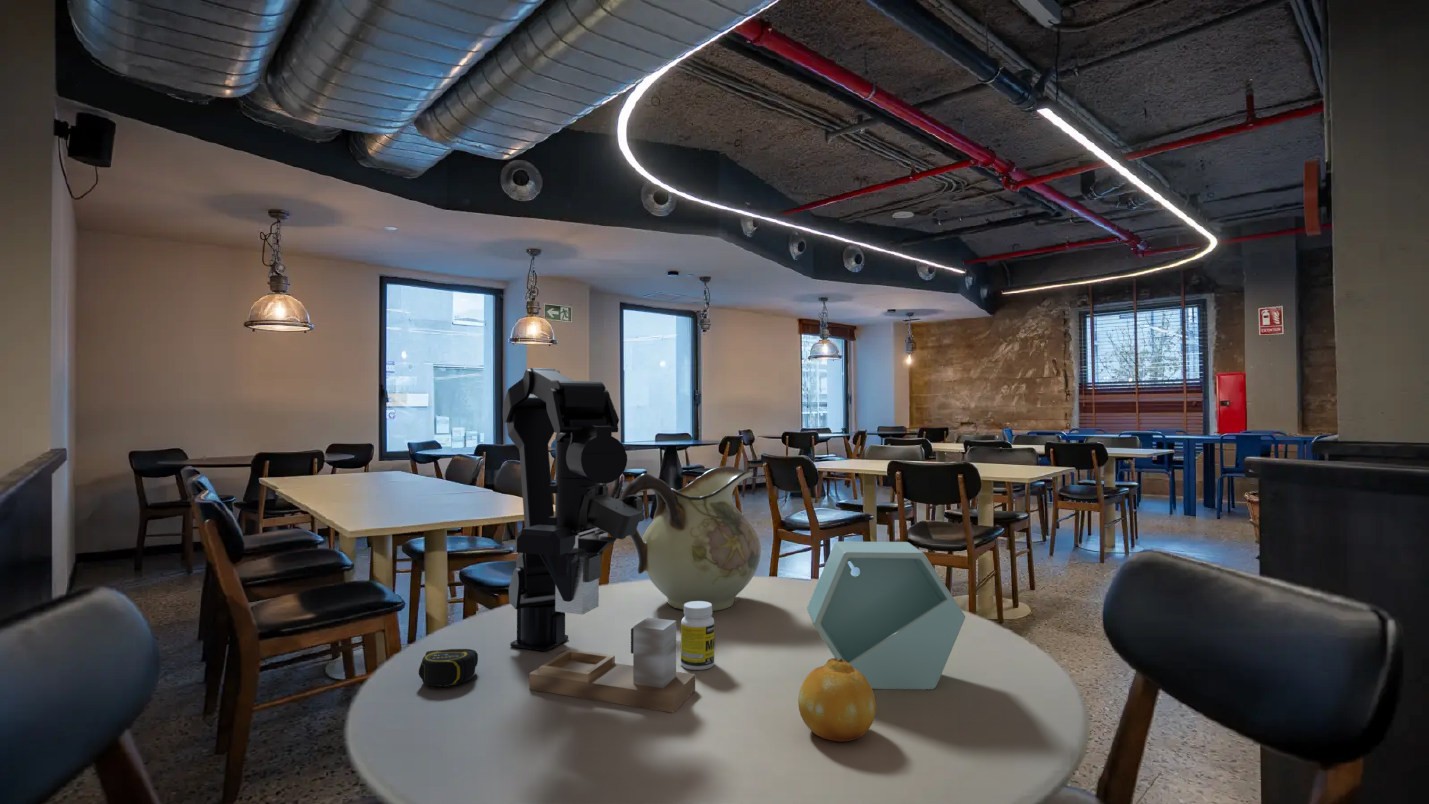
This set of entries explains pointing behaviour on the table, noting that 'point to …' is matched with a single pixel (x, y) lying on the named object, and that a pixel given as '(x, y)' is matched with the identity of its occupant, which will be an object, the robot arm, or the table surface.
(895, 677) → the planter
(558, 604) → the grey rectangular block
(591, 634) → the table surface
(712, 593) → the pitcher
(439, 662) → the tape measure
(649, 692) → the wooden tray stand
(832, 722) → the fruit
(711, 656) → the supplement bottle
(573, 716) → the table surface
